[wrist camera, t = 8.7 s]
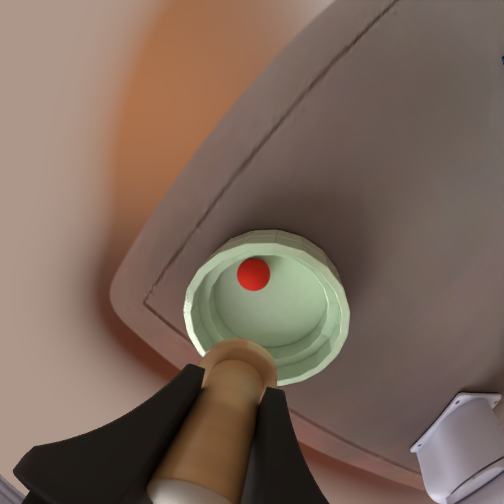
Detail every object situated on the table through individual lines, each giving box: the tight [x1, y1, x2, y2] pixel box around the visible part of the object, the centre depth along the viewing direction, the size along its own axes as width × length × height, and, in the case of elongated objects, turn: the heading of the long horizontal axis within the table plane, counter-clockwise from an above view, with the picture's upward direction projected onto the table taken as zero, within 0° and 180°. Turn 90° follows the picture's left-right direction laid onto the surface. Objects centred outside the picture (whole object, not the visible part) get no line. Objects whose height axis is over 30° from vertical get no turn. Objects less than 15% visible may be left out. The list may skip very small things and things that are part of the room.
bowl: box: [183, 230, 350, 386], centre depth 18 cm, size 10×10×4 cm
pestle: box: [146, 338, 278, 504], centre depth 9 cm, size 4×4×8 cm
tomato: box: [237, 258, 270, 291], centre depth 17 cm, size 2×2×2 cm
